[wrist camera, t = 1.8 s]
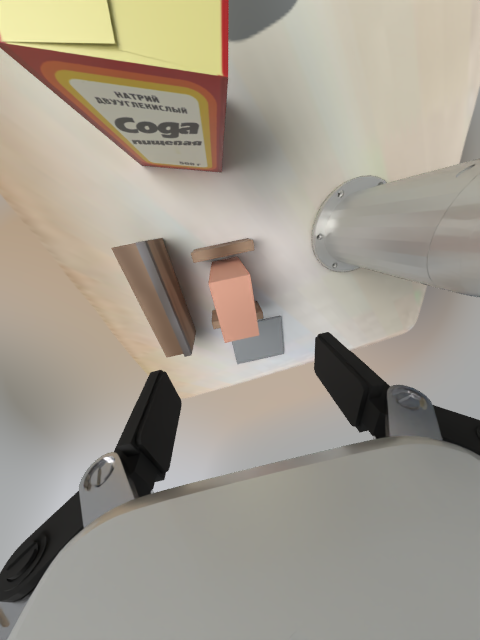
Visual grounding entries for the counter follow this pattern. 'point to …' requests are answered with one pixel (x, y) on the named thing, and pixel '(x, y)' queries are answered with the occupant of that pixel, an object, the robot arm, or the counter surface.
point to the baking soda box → (132, 70)
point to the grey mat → (261, 342)
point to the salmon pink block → (233, 299)
